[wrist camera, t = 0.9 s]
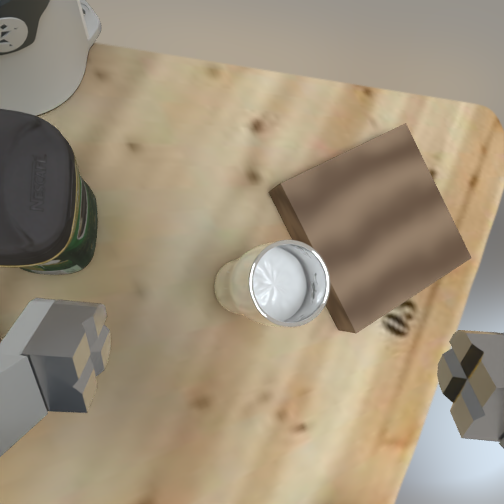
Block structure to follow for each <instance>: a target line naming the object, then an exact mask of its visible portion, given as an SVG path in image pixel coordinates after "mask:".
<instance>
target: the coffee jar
mask: <svg viewBox="0 0 504 504" xmlns="http://www.w3.org/2000/svg"><path fill="white" fill-rule="evenodd" d="M96 238H97V205H96V199H95V196H94V194H93V192H92V190H91V189H90V187H89V186H88V185H87V184H86V183H85V182H84V181H83V179H82V178H81V176H80V174H79V170H78V167H77V163H76V160H75V156H74V153H73V150H72V148H71V146H70V145H69V143H68V142H67V140H66V139H65V138H64V137H63V136H62V134H61V133H60V132H59V131H58V130H57V129H56V128H55V127H54V126H53V125H51V124H50V123H48V122H47V121H45V120H43V119H41V118H39V117H37V116H34V115H32V114H28V113H23V112H19V111H13V110H6V109H0V267H19V268H21V269H23V270H26V271H29V272H33V273H39V274H50V275H58V274H69V273H74V272H77V271H79V270H81V269H83V268H84V267H86V266H87V265H88V263H89V262H90V261H91V259H92V257H93V254H94V250H95V245H96Z"/></svg>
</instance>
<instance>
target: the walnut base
mask: <svg viewBox="0 0 504 504" xmlns="http://www.w3.org/2000/svg"><path fill="white" fill-rule="evenodd" d="M269 194H270V196H271V198H272V200H273V202H274V204H275V206H276V208H277V210H278V212H279V214H280V216H281V218H282V220H283V222H284V224H285V226H286V228H287V230H288V232H289V233H290V235H291V237H292V239H293V240H296V241H300V242H303V243H305V244H307V245H309V246H311V247H312V248H313V249H315V250H316V251H317V252H318V253H319V254H320V256H321V257H322V258H323V260H324V262H325V264H326V266H327V268H328V271H329V276H330V293H329V297H328V300H327V302H326V307H327V309H328V310H329V312H330V314H331V316H332V318H333V320H334V322H335V324H336V326H337V328H338V330H341V331H347V332H352V333H357V332H359V331H360V330H362V329H364V328H365V327H367V326H368V325H370V324H371V323H373V322H374V321H376V320H377V319H379V318H380V317H382V316H383V315H385V314H386V313H388V312H390V311H391V310H393V309H394V308H396V307H397V306H399V305H400V304H402V303H403V302H405V301H406V300H408V299H409V298H411V297H412V296H414V295H416V294H417V293H419V292H420V291H422V290H423V289H425V288H426V287H428V286H429V285H431V284H432V283H434V282H435V281H437V280H438V279H440V278H442V277H443V276H445V275H446V274H448V273H449V272H451V271H452V270H454V269H455V268H457V267H458V266H460V265H461V264H463V263H464V262H466V261H468V260H469V259H471V256H470V254H469V252H468V250H467V248H466V246H465V244H464V242H463V240H462V237H461V235H460V233H459V231H458V229H457V227H456V225H455V223H454V221H453V219H452V217H451V215H450V213H449V211H448V209H447V207H446V205H445V203H444V201H443V199H442V197H441V194H440V192H439V190H438V188H437V186H436V184H435V182H434V180H433V178H432V176H431V174H430V172H429V170H428V168H427V166H426V164H425V162H424V160H423V158H422V156H421V154H420V151H419V149H418V147H417V145H416V143H415V141H414V139H413V137H412V135H411V133H410V131H409V129H408V127H407V125H406V123H405V124H403V125H401V126H399V127H397V128H395V129H393V130H391V131H389V132H386V133H384V134H382V135H380V136H378V137H376V138H374V139H372V140H370V141H368V142H366V143H364V144H361V145H359V146H357V147H355V148H353V149H351V150H349V151H347V152H345V153H343V154H341V155H338V156H336V157H334V158H332V159H330V160H328V161H326V162H324V163H322V164H320V165H318V166H316V167H313V168H311V169H309V170H307V171H305V172H303V173H301V174H299V175H297V176H295V177H293V178H291V179H288V180H286V181H284V182H282V183H280V184H279V185H278V186H276V187H275V188H274V189H272V190H271V191H270V192H269Z"/></svg>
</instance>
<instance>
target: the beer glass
mask: <svg viewBox="0 0 504 504" xmlns="http://www.w3.org/2000/svg"><path fill="white" fill-rule="evenodd" d="M214 291H215V295H216V298H217V300H218V301H219V303H220V304H221V306H222V307H223V308H225V309H226V310H227V311H229V312H231V313H234V314H243V315H244V316H245V317H247V318H248V319H250V320H252V321H254V322H256V323H259V324H262V325H267V326H274V327H297V326H301V325H304V324H306V323H308V322H310V321H312V320H313V319H314V318H316V317H317V316H318V315H319V314H320V312H321V311H322V310H323V308H324V306H325V305H326V302H327V300H328V297H329V293H330V276H329V271H328V268H327V266H326V264H325V262H324V260H323V258H322V257H321V256H320V254H319V253H318V252H317V251H316V250H315V249H313V248H312V247H311V246H309V245H307V244H305V243H303V242H300V241H296V240H281V241H277V242H270V243H266V244H262V245H259V246H257V247H255V248H253V249H251V250H249V251H247V252H246V253H245V254H243V255H242V256H241V257H240V258H239V259H235V260H232V261H230V262H228V263H226V264H225V265H224V266H223V267H222V268H221V269H220V270H219V272H218V273H217V275H216V278H215V283H214Z"/></svg>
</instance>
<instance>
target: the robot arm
mask: <svg viewBox="0 0 504 504" xmlns="http://www.w3.org/2000/svg"><path fill="white" fill-rule="evenodd" d="M83 13H84V14H85V15H83ZM100 32H101V23H100V21H99V18H98V16H97V14H96V13H95V12H94V10H92V8H91V7H90V5H89V4H88V3H87V1H86V0H0V109H6V110H13V111H19V112H23V113H28V114H32V115H34V116H35V115H39V114H42V113H45V112H48V111H50V110H52V109H54V108H56V107H58V106H59V105H61V104H62V103H63V102H65V101H66V100H67V99H68V98H69V97H70V96H71V95H72V94H73V93H74V92H75V90H76V89H77V87H78V86H79V84H80V82H81V80H82V78H83V75H84V72H85V68H86V62H87V56H88V52H89V49H90V47H91V46H92V45H93V43H94V42H95V41H96V39H97V38H98V36H99V34H100ZM106 318H107V313H106V308H105V305H103V304H98V303H88V302H78V301H67V300H52V299H43V298H35V299H33V300H32V301H30V302H29V303H28V305H27V306H26V307H25V309H24V310H23V312H22V313H21V314H20V316H19V317H18V319H17V320H16V321H15V323H14V324H13V326H12V327H11V329H10V330H9V331H8V333H7V334H6V336H5V337H4V338H3V340H2V341H1V343H0V457H1V456H2V455H3V454H4V453H5V452H6V451H7V450H8V449H9V448H11V447H12V446H13V445H14V444H15V443H16V442H17V441H18V440H19V439H20V438H22V437H23V436H24V435H25V434H26V433H27V432H28V431H29V430H30V429H31V428H33V427H34V426H35V425H36V424H37V423H38V422H39V421H40V420H41V419H42V418H44V417H45V416H46V415H47V414H48V412H47V411H54V412H79V413H88V410H89V408H90V405H91V403H92V400H93V398H94V395H95V393H96V390H97V388H98V385H97V380H96V376H97V375H99V374H100V373H101V372H103V371H104V370H105V367H106V365H107V362H108V359H109V354H110V349H111V335H110V330H109V329H108V328H107V327H106V326H105V325H104V323H105V320H106ZM449 342H450V344H451V346H452V349H450V350H449V351H447V352H445V353H444V354H442V357H441V359H440V361H439V363H438V373H437V376H438V381H439V385H440V388H441V390H442V392H443V394H444V395H445V396H446V397H447V398H448V399H449V400H450V401H452V402H453V404H452V407H451V410H450V412H451V414H452V416H453V419H454V421H455V423H456V426H457V428H458V430H459V433H460V435H461V438H466V439H478V440H487V441H498V442H500V443H499V444H500V445H501V446H502V447H503V448H504V333H496V332H480V331H465V330H458V331H457V332H455V333H454V334H453V336H452V338H451V339H450V341H449Z"/></svg>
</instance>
